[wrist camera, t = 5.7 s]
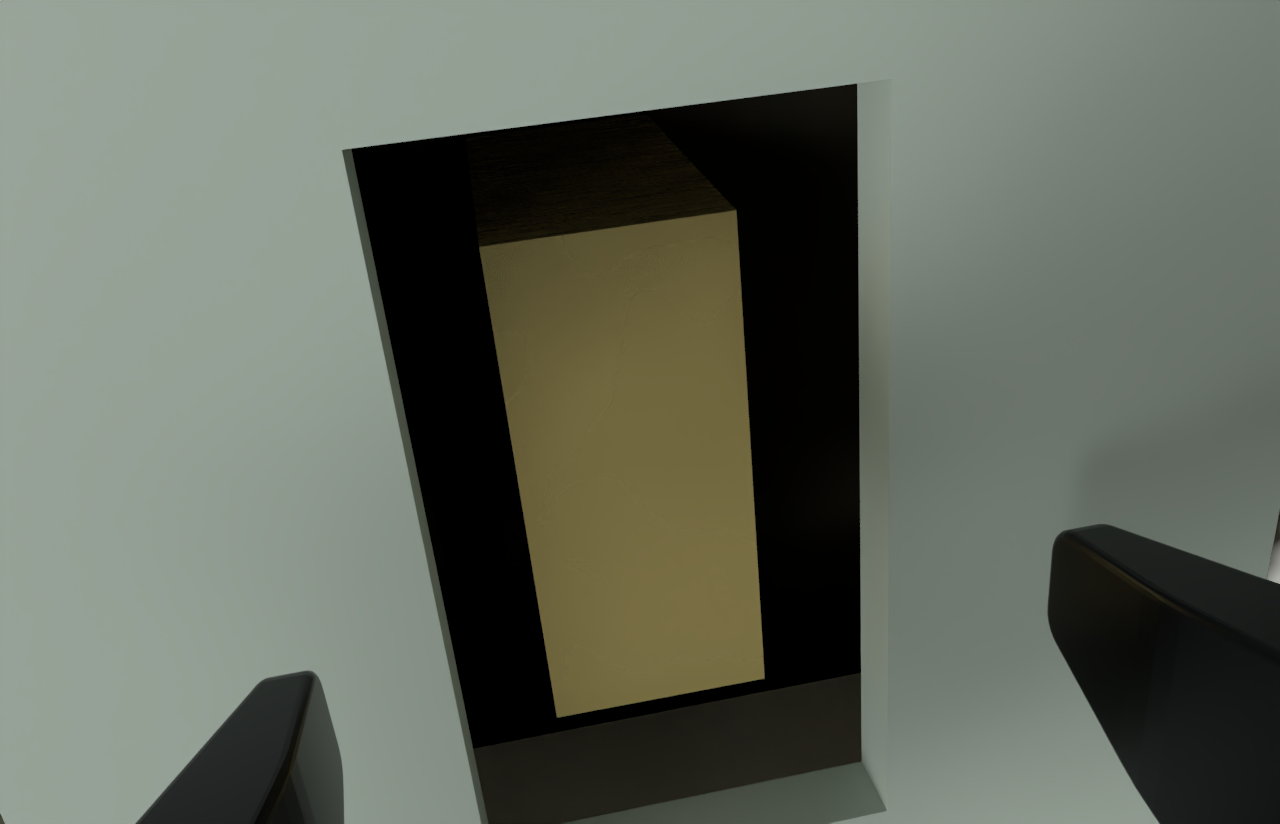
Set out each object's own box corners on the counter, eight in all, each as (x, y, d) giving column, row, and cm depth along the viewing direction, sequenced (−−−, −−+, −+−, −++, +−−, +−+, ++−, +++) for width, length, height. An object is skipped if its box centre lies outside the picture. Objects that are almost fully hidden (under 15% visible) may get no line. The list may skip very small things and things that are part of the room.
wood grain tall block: (679, 474, 17) (765, 677, 13) (524, 500, 17) (557, 717, 13) (646, 113, 15) (736, 209, 10) (465, 137, 15) (479, 246, 10)
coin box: (988, 683, 20) (1195, 969, 15) (249, 831, 19) (182, 1212, 13) (1049, -392, 13) (1480, -581, 8) (-125, -302, 12) (-585, -463, 6)
